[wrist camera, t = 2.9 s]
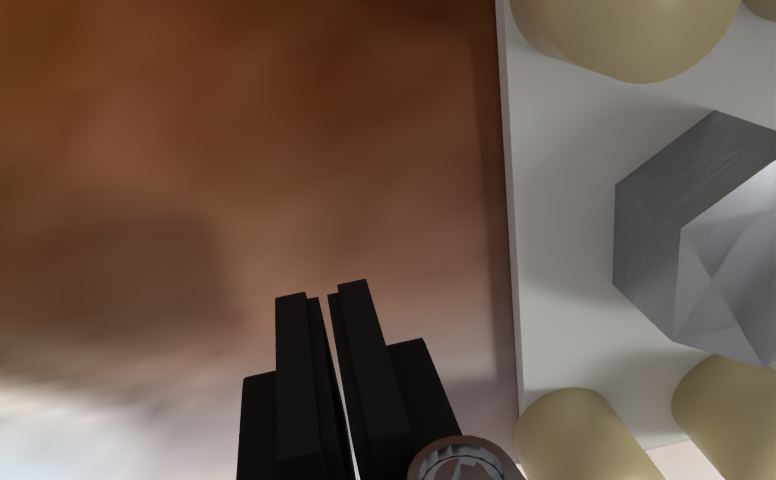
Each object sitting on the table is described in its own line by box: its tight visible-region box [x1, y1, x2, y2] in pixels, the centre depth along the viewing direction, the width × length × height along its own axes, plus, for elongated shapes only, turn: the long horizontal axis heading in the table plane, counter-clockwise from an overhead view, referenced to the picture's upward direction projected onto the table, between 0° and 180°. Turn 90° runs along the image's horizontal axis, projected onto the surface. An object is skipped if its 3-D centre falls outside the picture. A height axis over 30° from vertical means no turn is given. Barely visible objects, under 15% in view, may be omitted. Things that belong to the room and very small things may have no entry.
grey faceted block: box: [612, 110, 776, 368], centre depth 13 cm, size 4×5×2 cm
